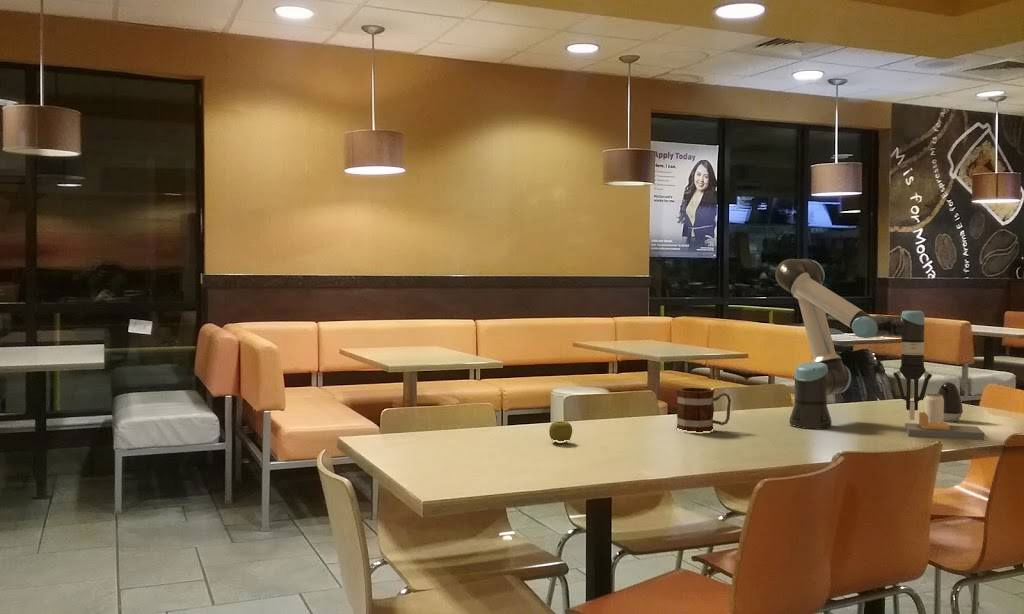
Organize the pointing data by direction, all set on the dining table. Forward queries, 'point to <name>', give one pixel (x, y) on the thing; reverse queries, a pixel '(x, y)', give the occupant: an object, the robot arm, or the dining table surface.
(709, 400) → the mug
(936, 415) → the can
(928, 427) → the orange l-shaped block
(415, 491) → the dining table surface
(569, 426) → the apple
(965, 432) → the socket plate
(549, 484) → the dining table surface
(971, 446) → the dining table surface
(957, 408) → the black rounded upright piece
